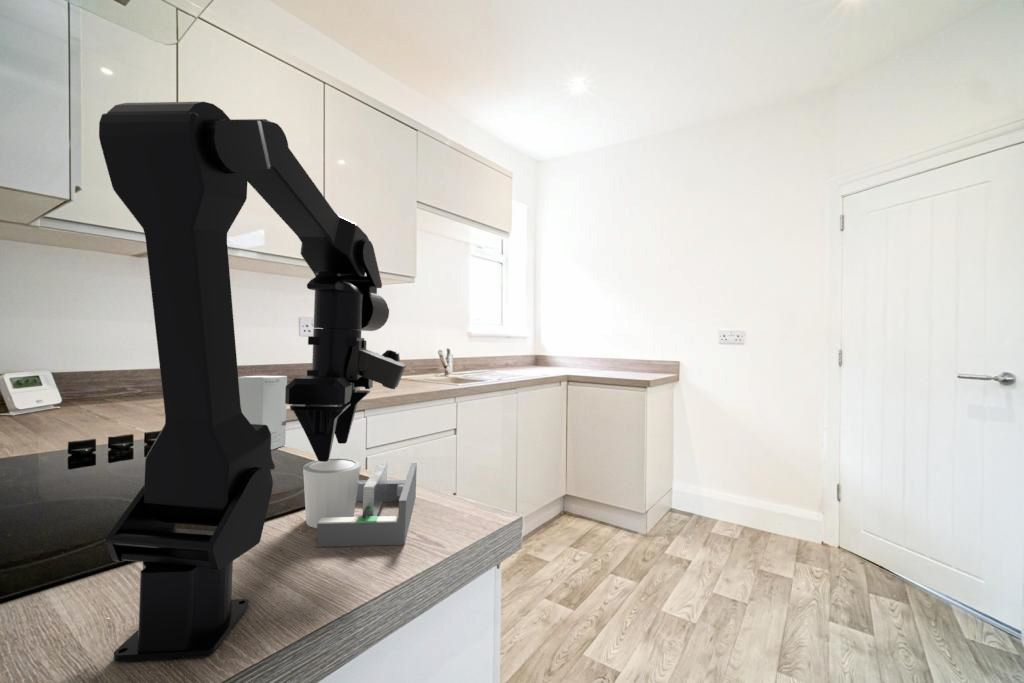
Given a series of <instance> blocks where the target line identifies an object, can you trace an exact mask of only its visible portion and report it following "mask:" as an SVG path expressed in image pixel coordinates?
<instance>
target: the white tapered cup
mask: <svg viewBox="0 0 1024 683" xmlns="http://www.w3.org/2000/svg"><path fill="white" fill-rule="evenodd" d="M361 466H362V464H361V462H360V461H358V460H355V459H350V458H329V460H328V461H327V462H320V461H318V460H314V461H310V462H307V463H306V464H304V465H303V467H302V472H303V489H304V490H303V491H304V506H305V524H306V525H307V526H309V527H310V528H314V529H317V524H318V521H319V520H320V518H321V517H355V511H356V503H357V502H356V497H357V489H358V482H359V480H360V472H361Z"/></svg>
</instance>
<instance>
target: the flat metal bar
mask: <svg viewBox="0 0 1024 683" xmlns="http://www.w3.org/2000/svg"><path fill="white" fill-rule="evenodd" d="M367 480H368V481H367V482H366V484H365V486H364V489H363V502H362V514H361V516H362V518H366V517H367V516H378V514H379V512H380V509H381V507H382V504H383V503H384V501H383V500H384V498H385V495H386V491H387V480H388V461H379V462H377V464H376V466H375V467H374V470H373V471H372V473H371V474H370V476H369V478H368V479H367Z"/></svg>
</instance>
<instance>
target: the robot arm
mask: <svg viewBox="0 0 1024 683" xmlns="http://www.w3.org/2000/svg"><path fill="white" fill-rule="evenodd" d="M98 123H99V125H98V126H99V127H98V130H99V131H98V138H99V142H100V148H101V150H102V154H103V158H104V161H105V164H106V168H107V172H108V176H109V178H110V184H111V185H112V189H113V191H114V193H115V194H116V196H118V198H119V199H120V201H121V202H122V203H123V205H125V207H126V208H127V210H128V211H129V212H130V213H131V215H132V216H133V217H134V219H135V220H136V221H137V223H138V224H139V225H140V227H142V229H143V233H144V239H145V244H146V245H145V246H146V254H147V263H148V273H149V274H148V275H149V282H150V290H151V299H152V309H153V318H154V326H155V335H156V336H155V337H156V344H157V353H158V363H159V364H158V365H159V370H160V371H159V372H160V379H161V380H160V381H161V388H162V400H163V407H164V415H165V419H164V422H165V423H164V425H163V427H162V428H161V430H160V431H159V434H158V435H157V437H156V439H155V440H154V442H153V444H152V445H151V447H150V449H149V451H148V453H147V454H146V457H145V463H144V482H143V483H144V484H143V486H142V488H141V489H140V490H139V491H138V492H137V494H136V496H135V497H134V498H133V500H132V501H131V503H129V505H128V506H127V507H126V510H125V511H124V512H123V513H122V515H121V516H120V517H119V519H118V520H117V522H116V523H115V524H114V526H112V529H111V530H110V531H109V533H108V534H107V535H106V537H105V544H106V546H107V550H108V552H109V555H110V557H111V560H112V561H115V562H122V561H129V562H140V563H142V569H141V570H140V575H139V576H140V578H139V579H140V580H139V603H138V604H139V606H138V629H137V630H136V631H135V632H133V634H132V635H131V636H130V637H128V638H127V639H126V640H125V641H124V642H123V643H122V644H121V645H120V646H119V647H117V648H116V649H115V651H113V658H112V659H113V661H114V662H125V661H126V662H128V661H129V662H130V661H144V660H145V661H147V660H163V659H166V660H167V659H183V658H203V657H207V656H210V655H212V654H213V653H214V652H215V651H216V650H217V648H218V647H219V646H220V644H222V642H223V641H224V639H225V638H226V637H227V635H229V633H230V632H231V630H232V629H233V627H234V626H235V625H236V624H237V622H238V621H239V620H240V619H241V618H242V616H243V615H244V613H245V612H246V611H247V609H248V608H249V606H250V600H249V599H248V598H239V599H238V598H236V599H235V598H233V596H232V595H233V571H234V570H233V568H234V565H233V564H234V561H235V560H237V559H238V558H240V557H241V556H243V555H244V554H246V553H247V552H249V551H250V550H251V549H253V548H255V547H256V546H257V545H259V544H260V542H261V538H262V534H263V530H264V526H265V522H266V517H267V513H268V509H269V505H270V500H271V498H272V492H273V486H274V484H273V482H274V481H273V476H272V471H273V470H275V468H276V466H275V462H274V461H273V457H272V450H271V433H270V430H269V428H268V426H267V425H260V424H250V422H249V421H248V420H247V419H246V417H245V416H244V415H243V413H242V411H241V405H240V393H239V381H238V377H239V373H238V372H239V371H238V369H239V368H238V358H237V348H236V347H237V345H236V335H235V334H236V333H235V321H234V313H233V312H234V311H233V310H234V309H233V298H232V296H233V295H232V288H231V273H230V262H229V261H230V260H229V251H228V233H229V230H230V229H231V227H232V226H233V224H234V222H235V220H236V218H237V216H238V215H239V213H240V211H241V210H242V208H243V206H244V205H245V203H246V201H247V197H248V184H249V185H250V186H251V187H252V188H253V189H254V191H255V192H256V193H257V194H258V195H259V196H260V197H261V198H262V199H263V200H264V201H265V203H267V204H268V205H269V206H270V208H271V209H272V210H273V211H274V212H275V214H277V216H278V217H279V218H280V219H281V220H282V221H283V222H284V223H285V224H286V226H288V228H290V230H291V231H292V232H293V233H294V234H295V235H296V236H297V238H298V239H299V241H300V242H301V245H300V246H301V248H300V255H301V257H302V258H303V260H304V261H305V263H306V265H307V266H308V268H310V270H311V271H312V273H313V274H314V276H315V277H313V278H312V279H310V280H309V282H307V284H306V288H307V289H308V290H312V291H314V301H313V302H314V304H313V305H314V306H313V308H314V310H313V331H312V335H313V336H311V335H310V336H308V337H307V345H308V346H310V345H311V346H312V362H311V364H312V366H311V369H307V370H306V375H303V376H299V377H295V378H294V379H293V380H291V381H290V382H289V383H287V386H286V392H285V404H286V405H289V409H290V410H291V411H292V412H293V413H294V414H295V416H296V418H297V420H298V422H299V424H300V426H301V427H302V429H303V432H304V433H305V434H304V435H306V438H307V440H308V442H309V444H310V447H311V448H312V450H313V453H314V455H315V457H316V458H317V461H320V462H327V461H328V460H329V459H330V458H331V452H332V448H333V443H334V439H336V441H337V443H338V444H340V445H341V444H344V445H345V444H346V443H347V442H348V439H349V437H350V433H351V429H352V425H353V422H354V419H355V413H356V411H357V407H358V404H359V402H361V401H362V400H363V399H364V398H365V397H366V396H368V394H370V393H371V389H372V388H373V383H374V382H375V383H379V384H381V385H382V387H385V388H387V389H390V390H396V388H398V386H399V384H400V381H401V378H402V376H403V374H404V372H405V369H406V366H407V364H405V362H401V360H400V352H397V351H394V350H392V349H387V350H386V351H385V352H383V353H382V354H380V353H378V352H374V351H372V350H369V349H367V340H365V338H364V337H362V332H363V331H364V332H375V331H377V330H380V329H381V328H383V327H384V326H385V325H386V323H387V322H388V319H389V316H390V308H389V307H388V303H387V301H386V300H385V299H384V298H383V296H381V295H379V294H377V293H378V289H382V287H383V282H382V279H381V273H380V270H379V264H378V262H377V261H378V260H377V257H376V253H375V249H374V244H373V243H372V241H371V240H370V239H369V237H368V235H367V234H366V233H365V231H363V230H362V228H360V226H358V225H357V224H356V222H353V221H351V220H349V219H347V218H344V217H342V216H339V214H338V213H337V212H335V210H334V209H333V208H332V206H331V205H330V203H329V202H328V201H327V199H326V198H325V196H324V195H323V193H322V192H321V191H320V190H319V188H318V186H317V185H316V184H315V183H314V181H313V179H312V178H311V177H310V176H309V174H308V173H307V171H306V170H305V169H304V167H303V166H302V164H301V163H300V162H299V160H298V159H297V157H296V156H295V154H293V152H292V150H291V149H290V148H289V142H288V138H287V136H286V134H285V132H284V130H283V128H282V127H281V126H280V125H279V124H278V123H276V122H273V121H271V120H268V119H266V118H265V119H264V118H257V119H255V118H254V119H253V118H249V119H247V118H246V119H238V118H237V119H231V118H230V117H229V116H228V115H227V114H226V112H225V111H224V110H223V109H222V108H220V107H218V106H217V105H215V104H214V103H211V102H206V101H163V102H162V101H161V102H160V101H158V102H156V101H155V102H124V103H119V104H115V105H114V106H113V107H112V108H110V109H109V110H108V111H107V113H102V114H101V117H100V119H99V122H98ZM373 381H374V382H373ZM361 388H364V390H363V389H362V390H361ZM176 524H181V525H193V526H194V525H195V526H207V527H216V529H215V530H201V529H191V528H190V529H187V528H175V526H176ZM232 598H233V599H232Z"/></svg>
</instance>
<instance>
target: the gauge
mask: <svg viewBox="0 0 1024 683" xmlns="http://www.w3.org/2000/svg"><path fill="white" fill-rule="evenodd" d="M417 465H418V464H417V462H412V463H410V466H409V469H408V472H407V475H406V478H405V479H404V480H403V479H397V480H396V479H391V480H389V479H387V491H386V495H385V498H384V500H383V502H398V511H397V513H398V515H396V516H395V515H393V516H392V515H391V516H390V515H388V516H387V515H386V516H385V515H384V516H379V515H377V516H367V517H366V518H362V515H359V516H354V517H321V518H320V520H319V521H318V524H317V528H316V548H323V547H324V548H326V547H327V548H328V547H330V548H331V547H359V546H360V547H364V546H365V547H368V546H370V547H371V546H402V545H403V546H405V544H406V540H407V536H408V531H409V527H410V524H411V519H412V514H413V510H414V507H415V506H414V505H415V501H416V494H417V493H416V492H417V472H418V471H417V470H418V469H417V468H418V467H417ZM367 481H368V479H367V480H365V479H363V480H360V479H359V482H358V489H357V497H356V503H358V502H359V503H360V502H361V503H363V489H364V486H365V484H366V482H367Z"/></svg>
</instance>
